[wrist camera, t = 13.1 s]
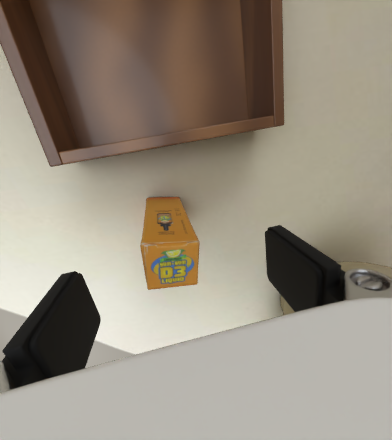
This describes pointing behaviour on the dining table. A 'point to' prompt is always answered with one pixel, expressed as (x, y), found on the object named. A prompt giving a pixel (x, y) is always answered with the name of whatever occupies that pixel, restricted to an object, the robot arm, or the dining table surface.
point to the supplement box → (168, 245)
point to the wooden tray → (143, 71)
